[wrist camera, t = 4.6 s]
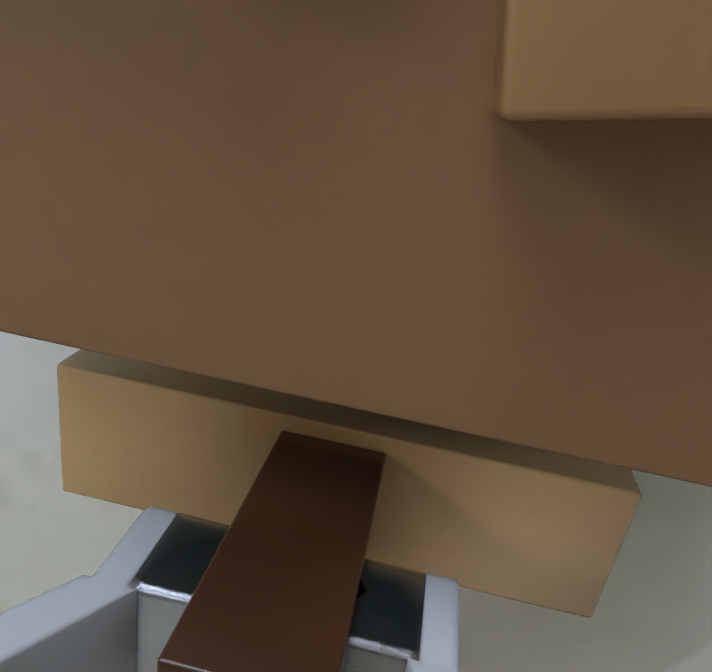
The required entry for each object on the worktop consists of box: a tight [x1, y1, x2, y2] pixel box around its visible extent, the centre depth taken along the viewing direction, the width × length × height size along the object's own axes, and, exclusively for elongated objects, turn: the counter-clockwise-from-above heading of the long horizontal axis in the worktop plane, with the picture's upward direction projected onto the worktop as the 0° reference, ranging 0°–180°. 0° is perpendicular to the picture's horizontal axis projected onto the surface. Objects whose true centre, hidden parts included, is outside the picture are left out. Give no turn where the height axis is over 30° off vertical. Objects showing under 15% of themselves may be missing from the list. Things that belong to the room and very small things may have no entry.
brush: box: [57, 349, 642, 672], centre depth 11 cm, size 11×3×8 cm, turn 81°
